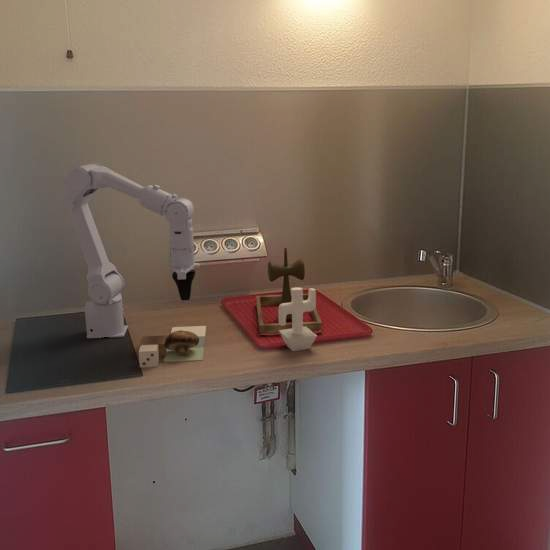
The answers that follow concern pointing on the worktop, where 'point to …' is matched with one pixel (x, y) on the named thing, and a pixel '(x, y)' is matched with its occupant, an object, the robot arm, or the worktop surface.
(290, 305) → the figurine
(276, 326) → the brown rectangular frame
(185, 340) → the mushroom
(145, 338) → the plinth
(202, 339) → the board
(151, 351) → the beige cube
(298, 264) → the kendama
